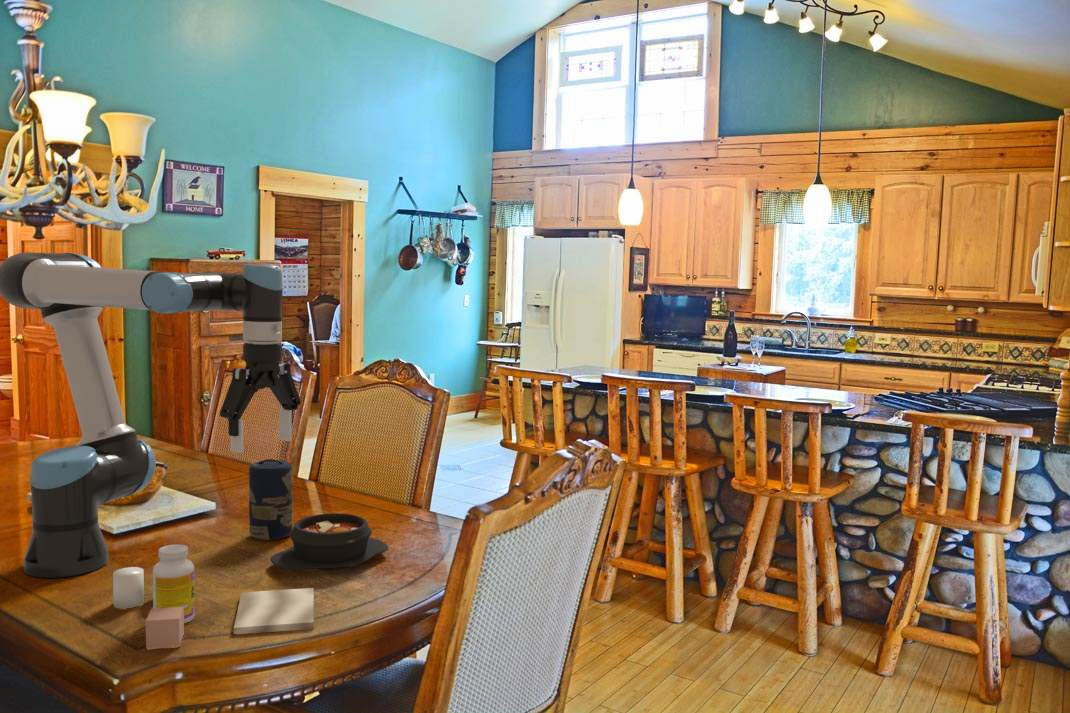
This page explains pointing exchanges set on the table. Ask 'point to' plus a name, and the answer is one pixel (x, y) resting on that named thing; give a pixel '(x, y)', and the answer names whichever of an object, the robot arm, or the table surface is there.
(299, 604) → the birch board
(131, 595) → the white domed cylinder
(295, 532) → the casserole
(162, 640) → the terracotta block
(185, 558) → the supplement bottle
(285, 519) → the canister
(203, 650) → the table surface
